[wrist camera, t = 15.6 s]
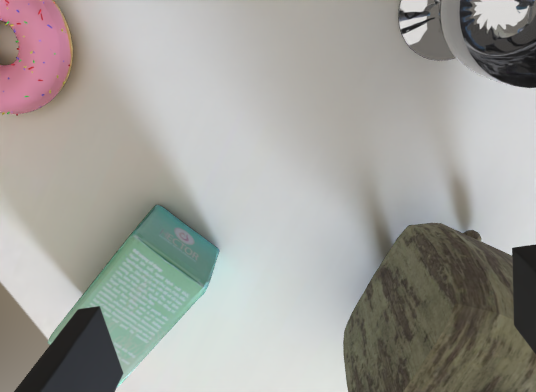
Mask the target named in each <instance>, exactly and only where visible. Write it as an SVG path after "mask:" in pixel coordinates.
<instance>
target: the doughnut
mask: <svg viewBox="0 0 536 392" xmlns="http://www.w3.org/2000/svg"><path fill="white" fill-rule="evenodd" d="M0 21H4V22H6V24H5V25H9V26H10V27H11V29H13V31H14V32H15V34H16V38H17V40H18V41H16V42H18V44H19V48H17V49H18V50H19V53H18V57H16V58H17V59H16V61H15V62H14V63H12V64H10V65H0V112H1V113H2V115H3V114H4V113H7V114H16V115H18V114H21V113H27V112H31V111H34V110H37V109H39V108H40V107H42V106H44V105H45V104H47V103H48V102H50V101H51V100H52V99H54V97H55V96H56V95H57V94H58V93H59V92H60V90H61V89H62V88H63V86H64V84H65V83H66V81H67V79H68V76H69V74H70V70H71V66H72V59H73V46H72V39H71V34H70V31H69V27H68V25H67V22H66V20H65V18H64V16H63V14H62V12H61V10H60V9H59V7H58V6H57V4H56V3H55V2H54V0H0Z"/></svg>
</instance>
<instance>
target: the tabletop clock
mask: <svg viewBox="0 0 536 392" xmlns="http://www.w3.org/2000/svg"><path fill="white" fill-rule="evenodd" d="M343 345H344V362H345V371H346V380H347V387H348V392H536V354H535V353H534V351H533V350H532V349H531V347H530V346H529V345H528V343H527V342H526V341H525V339H524V338H523V337H522V335H521V334H520V333H519V331H518V330H517V329H516V327H515V326H514V307H513V257H512V256H511V255H509V254H507V253H505V252H503V251H500V250H498V249H496V248H494V247H492V246H489V245H487V244H485V243H483V242H481V237H480V235H479V233H477V232H476V231H474V230H468V231H466V232H465V233H461V232H459V231H456V230H454V229H452V228H450V227H448V226H445V225H443V224H441V223H427V224H418V225H409V226H408V227H407V228H406V229H405V230H404V231H403V232H402V234H401V235H400V236H399V237H398V239H397V240H396V242H395V243H394V245H393V246H392V248H391V249H390V251H389V252H388V254H387V255H386V257H385V259H384V260H383V262H382V263H381V265H380V266H379V268H378V270H377V271H376V273H375V274H374V276H373V278H372V279H371V281H370V283H369V284H368V286H367V288H366V290H365V291H364V293H363V295H362V297H361V298H360V300H359V302H358V303H357V305H356V307H355V309H354V311H353V312H352V314H351V316H350V319H349V321H348V323H347V326H346V328H345V331H344V342H343Z"/></svg>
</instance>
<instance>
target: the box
mask: <svg viewBox="0 0 536 392" xmlns="http://www.w3.org/2000/svg"><path fill="white" fill-rule="evenodd" d="M218 254H219V249H218V248H217V247H215V246H214V245H213V244H211V243H210V242H209V241H207V240H206V239H205V238H203V237H202V236H201V235H199V234H198V233H196V232H195V231H194V230H192V229H191V228H190V227H188V226H187V225H186V224H184V223H183V222H182V221H180V220H179V219H178V218H176V217H175V216H174V215H172V214H171V213H170V212H169V211H167V210H166V209H165V208H163V207H162V206H159V205H156V206H155V207H154V208H153V209H152V210H151V211H150V212H149V213H148V215H147V216H146V217H145V218H144V219H143V220H142V222H141V223H140V224H139V225H138V226H137V228H136V229H135V230H134V231H133V232H132V234H131V235H130V236H129V237H128V239H127V240H126V241H125V242H124V243H123V245H122V246H121V247H120V248H119V250H118V251H117V252H116V254H115V255H114V256H113V257H112V259H111V260H110V261H109V262H108V264H107V265H106V266H105V267H104V269H103V270H102V271H101V273H100V274H99V275H98V276H97V278H96V279H95V280H94V281H93V283H92V284H91V285H90V286H89V288H88V289H87V290H86V292H85V293H84V294H83V295H82V297H81V298H80V299H79V300H78V302H77V303H76V304H75V305H74V307H73V308H72V309H71V310H70V312H69V313H68V314H67V315H66V317H65V318H64V319H63V321H62V322H61V323H60V324H59V326H58V327H57V328H56V329H55V331H54V332H53V333H52V335H51V337H50V339H49V341H48V344H50V345H51V343H52V342H53V341H54V340H55V338H56V337H57V336H58V334H59V333H60V332H61V331H62V329H63V328H64V327H65V325H66V324H67V323H68V322H69V320H70V319H71V318H72V316H73V315H74V314H75V312H76V311H77V310H78V309H83V308H90V307H97V306H100V308H101V311H102V314H103V317H104V319H105V322H106V325H107V328H108V331H109V334H110V336H111V339H112V342H113V345H114V348H115V351H116V353H117V356H118V359H119V362H120V365H121V368H122V370H123V373H124V374H123V376H122V378H121V380H120V382H119V384H118V386H119V385H120V384H121V383H122V382H123V381H124V380H125V379H126V378H127V377H128V376H129V375H130V374H131V373H132V371H133V370H134V369H135V368H136V367H137V366H138V365H139V364H140V362H141V361H142V360H143V359H144V358H145V357H146V356H147V355H148V354H149V352H150V351H151V350H152V349H153V348H154V347H155V346H156V345H157V344H158V342H159V341H160V340H161V339H162V338H163V337H164V336H165V335H166V334H167V333H168V332H169V331H170V329H171V328H172V327H173V326H174V325H175V324H176V323H177V322H178V321H179V320H180V318H181V317H182V316H183V315H184V314H185V313H186V312H187V311H188V310H189V308H190V307H191V306H192V305H193V304H194V303H195V302H196V301H197V300H198V299H199V298H200V297H201V296H202V295H203V294H204V293H205V291H206V289H207V287H208V284H209V282H210V279H211V276H212V273H213V270H214V266H215V263H216V260H217V256H218ZM118 386H117V387H118Z"/></svg>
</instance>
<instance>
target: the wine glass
mask: <svg viewBox="0 0 536 392" xmlns="http://www.w3.org/2000/svg"><path fill="white" fill-rule="evenodd" d="M398 20H399V27H400V31H401V34H402V36H403V38H404V40H405V42H406V43H407V45H408V46H409V47H410V48H411V49H412V50H413V51H414V52H415V53H417V54H418V55H420V56H422V57H424V58H427V59H430V60H437V61H442V60H450V59H455V58H457V59H458V60H459V61H460V62H461V63H462V64H464V65H465V66H466V67H467V68H469V69H470V70H471V71H473V72H475V73H477V74H478V75H480V76H482V77H485V78H488V79H490V80H493V81H496V82H499V83H502V84H506V85H511V86H518V87H525V88H535V87H536V0H401V1H400V6H399V16H398Z"/></svg>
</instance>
